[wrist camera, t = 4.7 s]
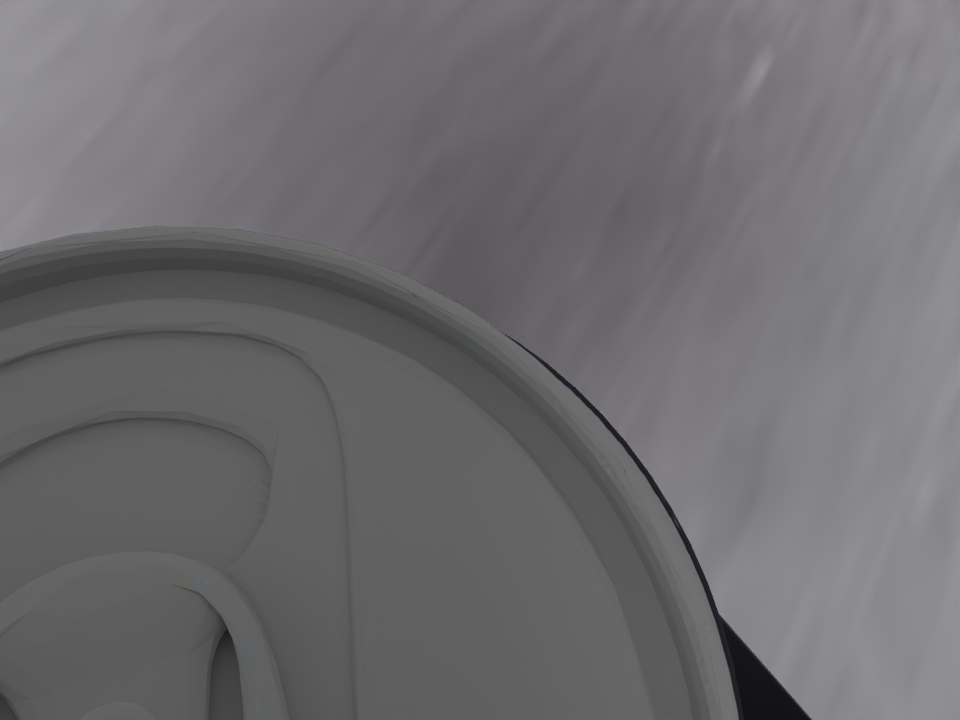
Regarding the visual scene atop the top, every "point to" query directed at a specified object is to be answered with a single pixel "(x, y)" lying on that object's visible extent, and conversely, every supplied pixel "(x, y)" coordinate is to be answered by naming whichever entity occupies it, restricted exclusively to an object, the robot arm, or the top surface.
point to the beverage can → (318, 503)
